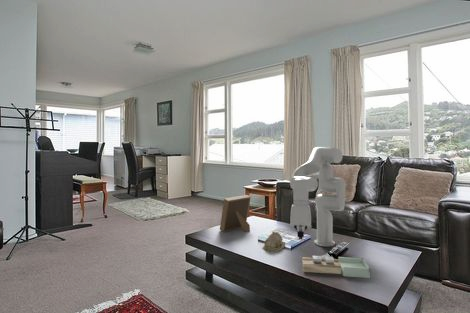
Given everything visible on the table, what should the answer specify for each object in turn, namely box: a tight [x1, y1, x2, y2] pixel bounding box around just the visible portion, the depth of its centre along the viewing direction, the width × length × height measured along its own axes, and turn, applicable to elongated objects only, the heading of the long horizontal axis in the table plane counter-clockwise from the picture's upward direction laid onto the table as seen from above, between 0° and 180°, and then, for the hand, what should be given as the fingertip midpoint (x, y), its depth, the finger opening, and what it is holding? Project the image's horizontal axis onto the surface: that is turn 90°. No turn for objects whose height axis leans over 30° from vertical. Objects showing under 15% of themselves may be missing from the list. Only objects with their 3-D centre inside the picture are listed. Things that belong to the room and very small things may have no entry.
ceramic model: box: [262, 231, 286, 253], centre depth 170 cm, size 14×11×10 cm
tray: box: [338, 256, 371, 279], centre depth 138 cm, size 12×12×4 cm
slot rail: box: [301, 256, 342, 275], centre depth 140 cm, size 8×18×4 cm, turn 80°
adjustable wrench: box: [320, 245, 336, 259], centre depth 158 cm, size 25×6×2 cm, turn 138°
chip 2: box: [325, 256, 335, 265], centre depth 139 cm, size 4×4×3 cm
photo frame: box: [219, 194, 252, 233], centre depth 204 cm, size 15×22×25 cm
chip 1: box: [312, 255, 322, 264], centre depth 140 cm, size 4×4×3 cm
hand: (300, 238), depth 141 cm, fingers closed
